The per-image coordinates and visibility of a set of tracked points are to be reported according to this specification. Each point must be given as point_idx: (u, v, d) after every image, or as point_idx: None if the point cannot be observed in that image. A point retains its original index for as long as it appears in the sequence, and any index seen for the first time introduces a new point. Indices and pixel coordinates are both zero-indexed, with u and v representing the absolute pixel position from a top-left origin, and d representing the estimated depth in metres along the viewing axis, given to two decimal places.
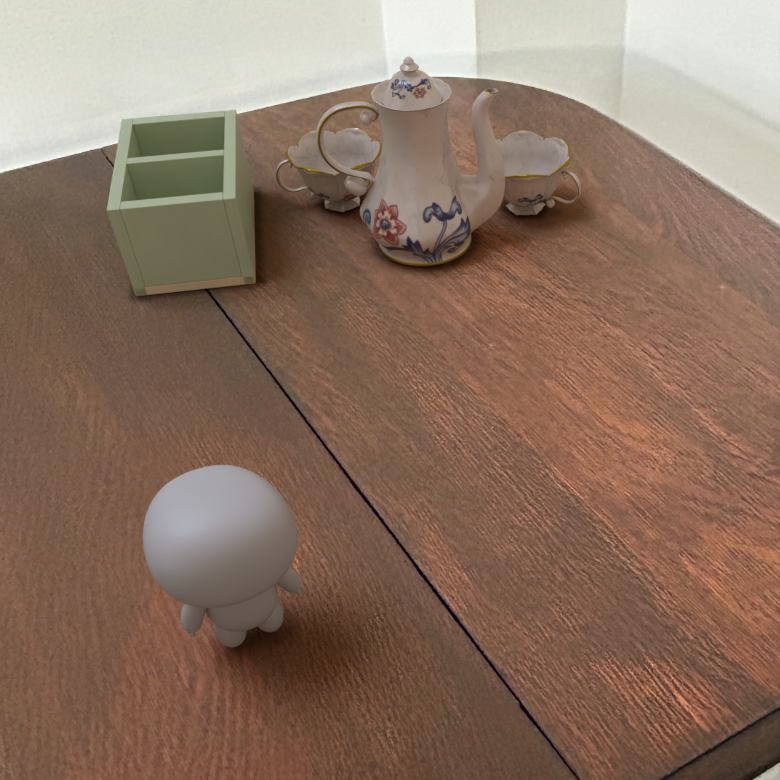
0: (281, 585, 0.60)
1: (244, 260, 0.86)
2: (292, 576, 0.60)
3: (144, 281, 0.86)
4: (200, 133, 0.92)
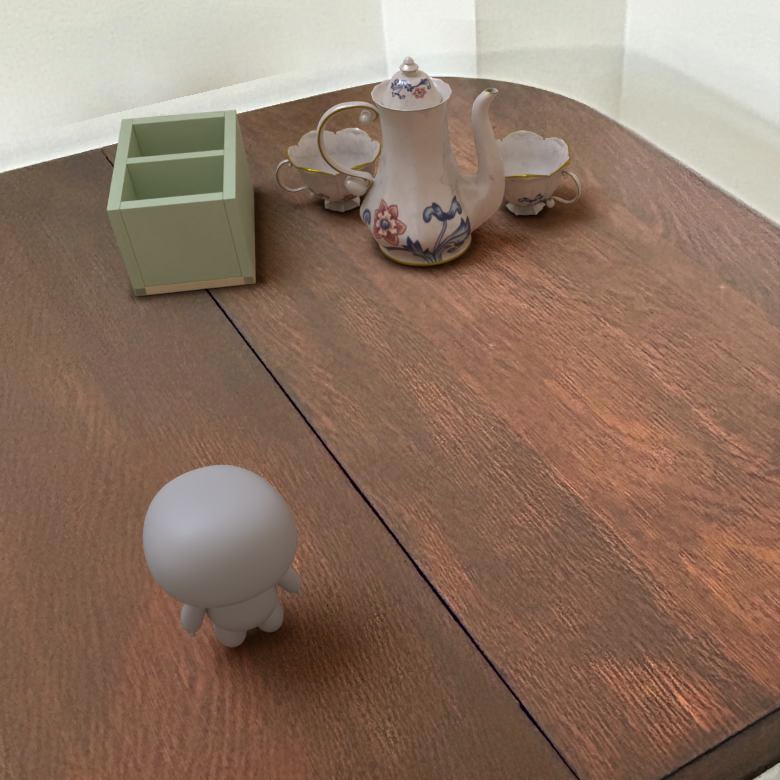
0: (281, 585, 0.60)
1: (244, 260, 0.86)
2: (292, 576, 0.60)
3: (144, 281, 0.86)
4: (200, 133, 0.92)
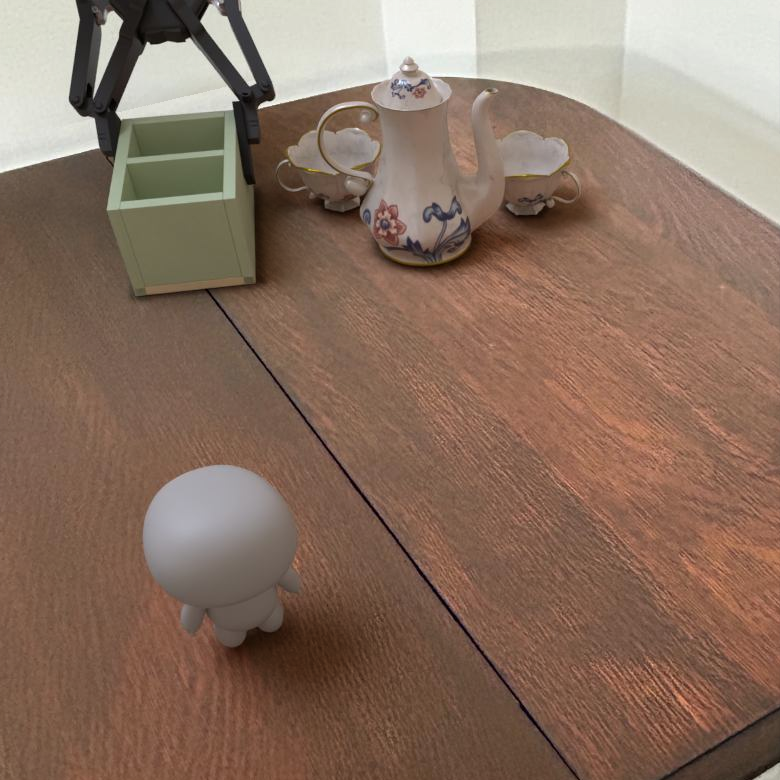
0: (281, 585, 0.60)
1: (244, 260, 0.86)
2: (292, 576, 0.60)
3: (144, 281, 0.86)
4: (200, 133, 0.92)
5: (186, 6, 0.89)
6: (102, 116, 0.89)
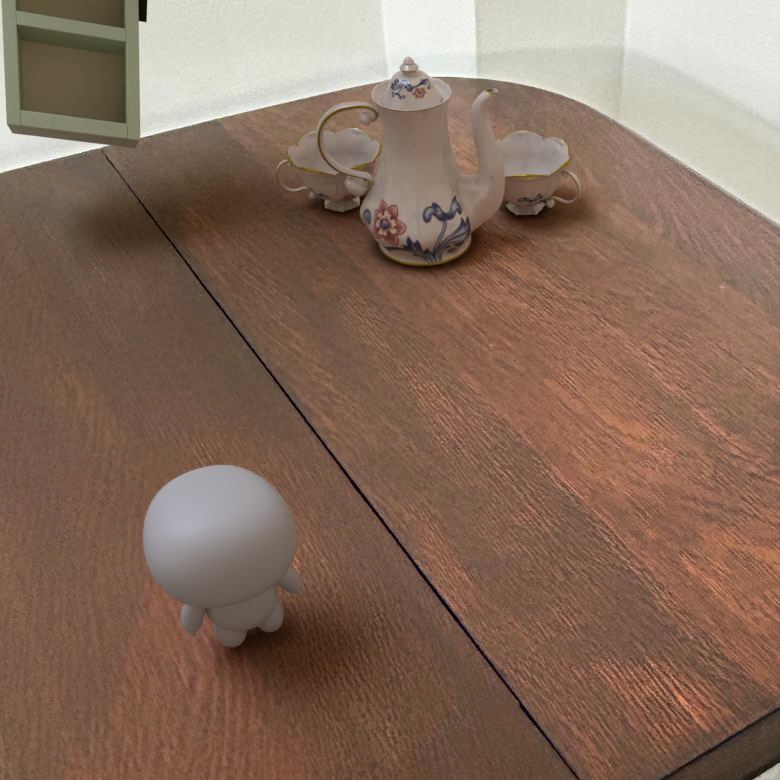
0: (281, 585, 0.60)
1: (131, 145, 0.91)
2: (292, 576, 0.60)
3: (25, 133, 0.88)
4: None
5: None
6: None
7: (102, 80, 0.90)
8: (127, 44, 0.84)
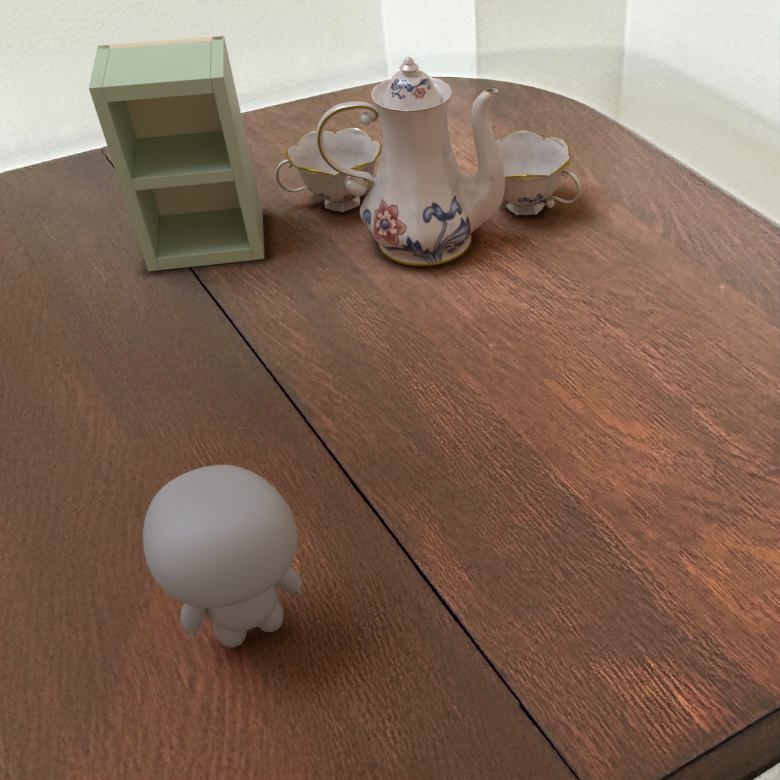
0: (281, 585, 0.60)
1: None
2: (292, 576, 0.60)
3: None
4: None
5: None
6: None
7: None
8: (236, 183, 0.85)
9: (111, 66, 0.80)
